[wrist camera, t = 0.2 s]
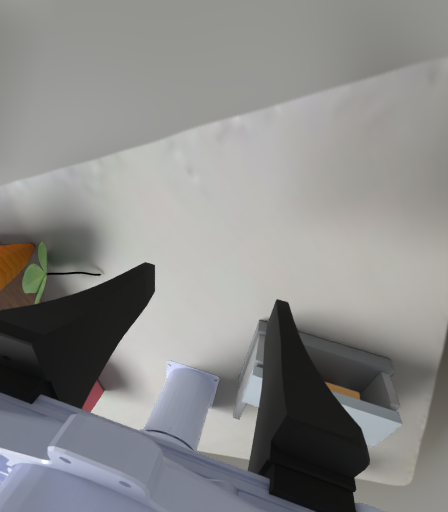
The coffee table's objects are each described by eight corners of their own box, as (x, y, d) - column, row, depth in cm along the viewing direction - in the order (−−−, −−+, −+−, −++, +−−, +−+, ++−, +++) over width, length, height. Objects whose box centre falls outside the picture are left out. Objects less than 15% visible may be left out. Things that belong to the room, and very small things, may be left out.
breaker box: (339, 415, 32) (345, 457, 29) (237, 381, 34) (230, 416, 30) (390, 359, 26) (407, 404, 22) (259, 320, 27) (253, 355, 23)
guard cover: (371, 435, 25) (374, 447, 24) (243, 392, 26) (241, 401, 25) (398, 412, 22) (402, 424, 21) (253, 365, 24) (252, 375, 23)
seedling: (102, 236, 32) (41, 234, 30) (98, 251, 25) (18, 251, 23) (102, 287, 34) (45, 289, 31) (99, 314, 27) (25, 321, 24)
